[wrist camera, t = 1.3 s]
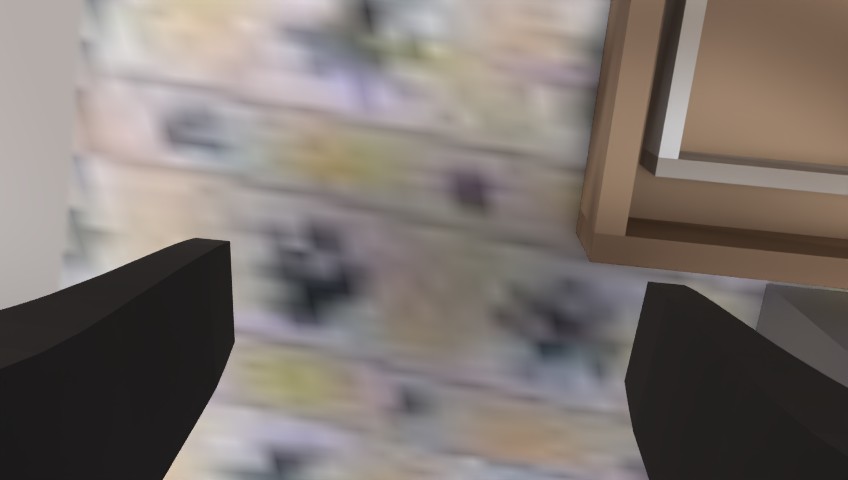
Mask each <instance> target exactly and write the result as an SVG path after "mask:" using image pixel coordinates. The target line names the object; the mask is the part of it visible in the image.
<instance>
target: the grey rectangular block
mask: <svg viewBox="0 0 848 480" xmlns="http://www.w3.org/2000/svg"><path fill="white" fill-rule="evenodd" d="M756 331H757V332H758V333H760V334H761V335H763V336H764V337H766V338H767V339H769V340H770V341H772V342H773V343H775V344H776V345H778V346H779V347H781V348H782V349H784V350H785V351H787V352H789V353H790V354H792V355H793V356H795V357H796V358H798V359H800V360H801V361H803V362H805V363H806V364H808V365H810V366H811V367H813V368H815V369H816V370H818V371H820V372H821V373H823V374H825V375H826V376H828V377H830V378H832V379H833V380H835V381H837V382H839V383H840V384H842V385H844V386H846V387H848V292H839V291H829V290H820V289H811V288H801V287H792V286H782V285H773V284H767V285H766V290H765V294H764V298H763V302H762V307H761V311H760V315H759V320H758V324H757V328H756Z"/></svg>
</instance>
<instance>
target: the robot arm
mask: <svg viewBox="0 0 848 480" xmlns="http://www.w3.org/2000/svg"><path fill="white" fill-rule="evenodd" d="M234 342H235V337H234V316H233V295H232V274H231V254H230V241H222V240H211V239H201V238H193V239H189V240H186V241H183V242H180V243H177V244H174V245H172V246H169V247H167V248H164V249H162V250H159V251H157V252H155V253H152V254H150V255H147V256H145V257H143V258H140V259H138V260H136V261H133V262H131V263H128V264H126V265H124V266H121V267H119V268H117V269H114V270H112V271H110V272H107V273H105V274H102V275H100V276H97V277H94V278H92V279H89V280H87V281H84V282H81V283H79V284H76V285H73V286H71V287H68V288H66V289H63V290H60V291H58V292H55V293H52V294H50V295H47V296H44V297H41V298H38V299H35V300H32V301H29V302H26V303H23V304H19V305H16V306H13V307H10V308H6V309H2V310H0V480H163V478H164V477H165V475H166V473H167V472H168V470H169V468H170V466H171V465H172V463H173V461H174V460H175V458H176V456H177V455H178V453H179V451H180V450H181V448H182V446H183V445H184V443H185V441H186V439H187V438H188V436H189V434H190V433H191V431H192V429H193V428H194V426H195V424H196V423H197V421H198V419H199V417H200V416H201V414H202V412H203V410H204V409H205V407H206V405H207V404H208V402H209V400H210V398H211V397H212V395H213V393H214V391H215V389H216V388H217V385H218V383H219V380H220V378H221V376H222V373H223V371H224V369H225V366H226V363H227V361H228V358H229V356H230V353H231V350H232V348H233V345H234ZM625 387H626V393H627V400H628V406H629V411H630V417H631V422H632V427H633V432H634V435H635V438H636V441H637V444H638V447H639V450H640V453H641V456H642V459H643V462H644V465H645V468H646V472H647V474H648V477H649V480H848V387H846V386H844V385H842V384H840V383H839V382H837V381H835V380H833V379H832V378H830V377H828V376H826V375H825V374H823V373H821V372H820V371H818V370H816V369H815V368H813V367H811V366H810V365H808V364H806V363H805V362H803V361H801V360H800V359H798V358H796V357H795V356H793V355H792V354H790V353H789V352H787V351H785V350H784V349H782V348H781V347H779V346H778V345H776V344H775V343H773V342H772V341H770V340H769V339H767V338H766V337H764V336H763V335H761V334H760V333H758V332H757V331H755V330H754V329H752V328H751V327H749V326H748V325H746V324H745V323H743V322H742V321H740V320H739V319H738V318H736V317H735V316H733V315H732V314H730V313H729V312H727V311H726V310H724V309H723V308H721V307H720V306H718V305H717V304H716V303H714V302H712V301H711V300H709V299H708V298H706V297H705V296H703V295H702V294H700V293H698V292H697V291H695V290H693V289H691V288H689V287H687V286H685V285H677V284H666V283H656V282H648V284H647V288H646V293H645V297H644V301H643V305H642V310H641V314H640V318H639V322H638V327H637V331H636V335H635V339H634V344H633V348H632V352H631V356H630V360H629V365H628V369H627V373H626V377H625Z"/></svg>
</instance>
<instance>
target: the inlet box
mask: <svg viewBox="0 0 848 480" xmlns="http://www.w3.org/2000/svg"><path fill="white" fill-rule="evenodd" d="M576 233H577V235H578V238H579V240H580V242H581V244H582V246H583V248H584V250H585V252H586V254H587V256H588V259H589V261H590V262H598V263H608V264H617V265H626V266H636V267H645V268H655V269H664V270H674V271H683V272H692V273H702V274H711V275H721V276H730V277H740V278H749V279H758V280H768V281H777V282H787V283H796V284H806V285H815V286H824V287H834V288H843V289H848V0H611V5H610V12H609V18H608V25H607V32H606V38H605V45H604V52H603V58H602V65H601V72H600V78H599V85H598V92H597V98H596V105H595V112H594V118H593V125H592V132H591V138H590V145H589V152H588V158H587V165H586V172H585V179H584V185H583V192H582V199H581V205H580V212H579V219H578V225H577V232H576Z"/></svg>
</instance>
